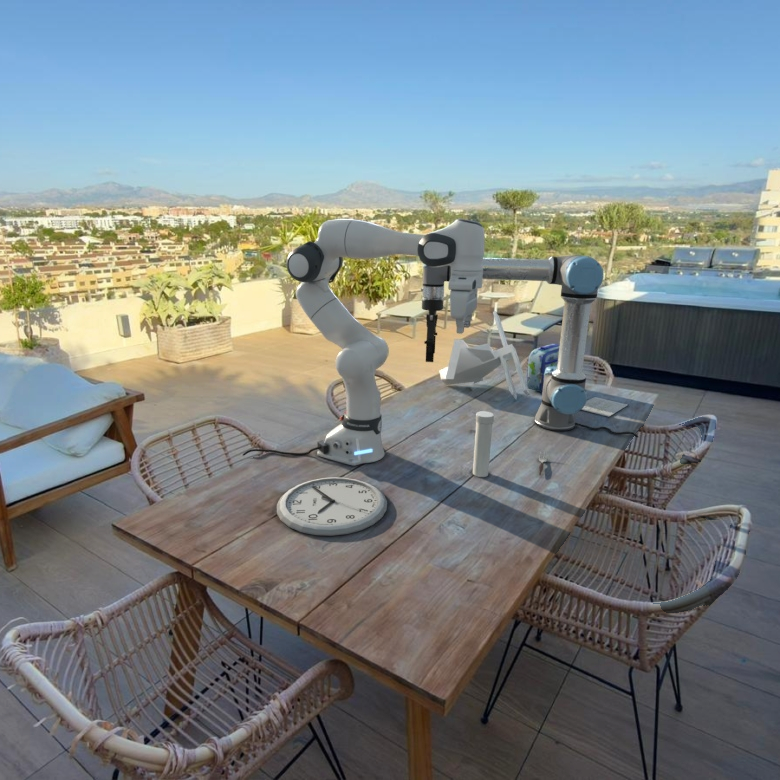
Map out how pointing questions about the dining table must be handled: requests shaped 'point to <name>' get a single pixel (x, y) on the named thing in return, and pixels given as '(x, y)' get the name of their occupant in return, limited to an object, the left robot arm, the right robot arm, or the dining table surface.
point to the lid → (484, 417)
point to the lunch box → (541, 365)
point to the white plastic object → (482, 362)
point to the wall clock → (331, 506)
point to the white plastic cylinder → (482, 449)
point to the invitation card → (603, 406)
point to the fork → (542, 461)
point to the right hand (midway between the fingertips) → (430, 357)
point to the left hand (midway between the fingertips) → (463, 330)
